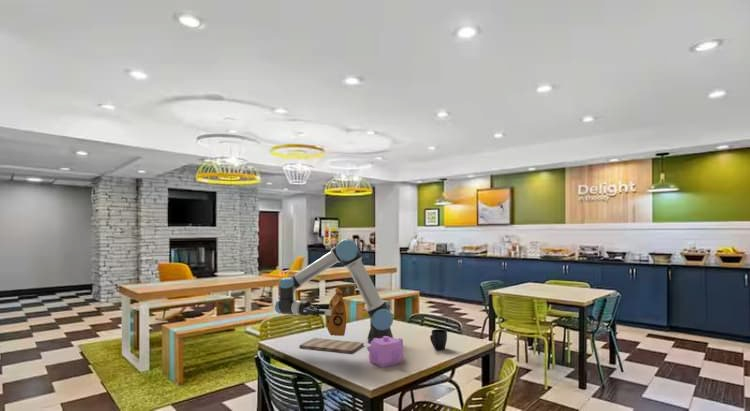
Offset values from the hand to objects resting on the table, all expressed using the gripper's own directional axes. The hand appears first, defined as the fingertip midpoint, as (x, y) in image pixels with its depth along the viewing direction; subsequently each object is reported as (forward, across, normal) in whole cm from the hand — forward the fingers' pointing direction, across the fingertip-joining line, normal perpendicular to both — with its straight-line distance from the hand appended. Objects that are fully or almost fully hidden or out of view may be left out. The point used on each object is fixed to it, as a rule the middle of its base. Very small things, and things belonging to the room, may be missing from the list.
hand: (337, 310), depth 210 cm
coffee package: (-1, 0, -12) cm, 12 cm away
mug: (+46, -29, -24) cm, 59 cm away
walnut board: (-11, -15, -24) cm, 30 cm away
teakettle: (+27, 0, -24) cm, 36 cm away
